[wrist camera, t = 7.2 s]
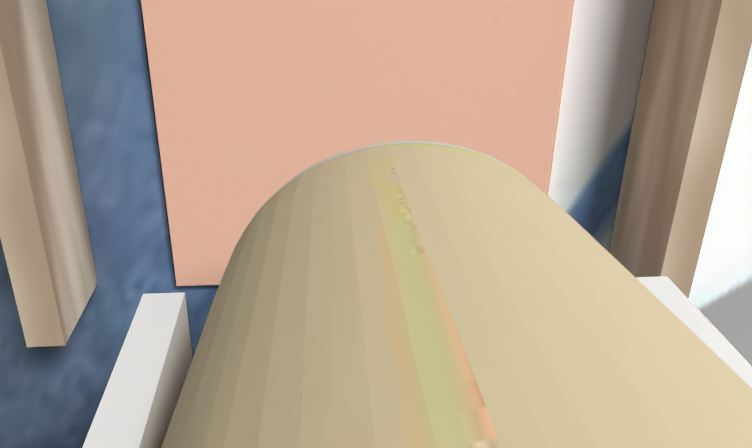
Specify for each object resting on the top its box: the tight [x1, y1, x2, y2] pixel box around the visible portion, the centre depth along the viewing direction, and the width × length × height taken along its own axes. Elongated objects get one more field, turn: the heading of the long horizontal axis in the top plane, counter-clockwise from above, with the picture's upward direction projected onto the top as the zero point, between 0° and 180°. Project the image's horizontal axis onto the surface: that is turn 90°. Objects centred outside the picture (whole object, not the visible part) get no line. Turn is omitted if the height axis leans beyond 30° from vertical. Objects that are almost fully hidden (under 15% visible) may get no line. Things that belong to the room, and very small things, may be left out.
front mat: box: [141, 0, 574, 286], centre depth 25 cm, size 14×11×1 cm
